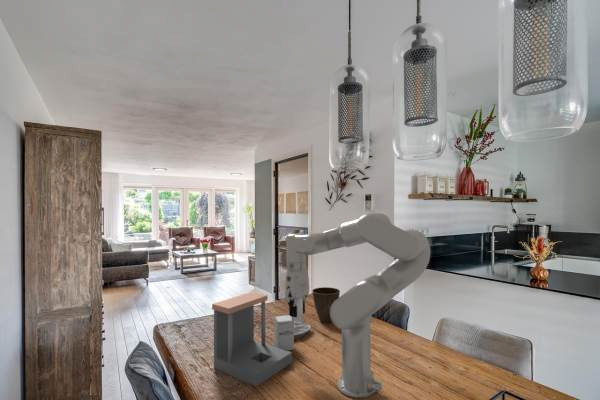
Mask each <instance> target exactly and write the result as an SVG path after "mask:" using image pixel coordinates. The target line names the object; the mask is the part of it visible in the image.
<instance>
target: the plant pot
mask: <svg viewBox="0 0 600 400" xmlns="http://www.w3.org/2000/svg"><path fill="white" fill-rule="evenodd" d="M311 292H312V298H313V305H314V307H315V311H316V314H317V317H318V320H319V321H320V323H326V324H327V323H333V322H332V320H331V318H330V308H331V306H332V304H333V302H334V301H335V300H337V299H338V298H339V297H340V292H341V290H340V289H339V288H335V287H326V286H324V287H323V286H322V287H316V288H313V289H312V291H311Z"/></svg>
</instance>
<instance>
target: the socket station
mask: <svg viewBox="0 0 600 400" xmlns="http://www.w3.org/2000/svg"><path fill="white" fill-rule="evenodd" d="M266 301H268V295H267V294H263V293H258V292H252V291H250V292H247V293H244V294H241V295H237V296H234V297H231V298H228V299H224V300H221V301H218V302H214V303H212V304H211V309H212V310H213V369H216V370H218V371H220V372H222V373H225V374H227V375H229V376H232V377H234V378H236V379H238V380H241V381H243V382H245V383H248V384H250V385H251V386H253V387H258V386H260V384H262V383H264V382H265V381H267V380H269V378H271V377H272V376H275V375H276V374H277V373H279V372H280V371H282V370H283V369H285V368H286V367H288V366H289V365H291V364H292V363H293V360H292V359H293V353H292V352H291V351H290V350H283V349H280V348H277V347H275V345H274V346H273V345H271V344H267V343H266ZM259 304H260V305H261V306H260V307H261V308H260V309H261V310H260V311H261V312H260V313H261V314H260V315H261V321H260V322H261V324H260V326H261V332H260V333H261V335H260V337H261V341H257V340H255V333H254V332H255V330H254V329H255V328H254V327H255V319H254V318H255V316H254V314H255V312H254V311H255V310H254V309H255V307H254V306H255V305H259Z"/></svg>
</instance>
